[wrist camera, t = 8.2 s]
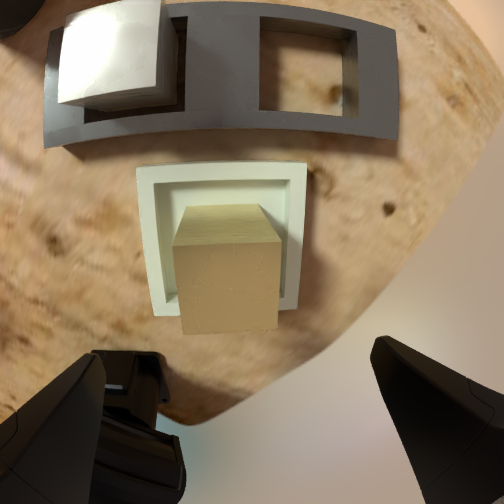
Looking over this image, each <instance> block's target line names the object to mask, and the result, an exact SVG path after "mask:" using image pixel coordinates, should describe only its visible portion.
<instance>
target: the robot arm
mask: <svg viewBox="0 0 504 504" xmlns="http://www.w3.org/2000/svg"><path fill="white" fill-rule="evenodd" d="M151 357H154V358H155V359H154V358H151ZM370 361H371V364H372V367H373V370H374V373H375V376H376V379H377V383H378V386H379V388H380V392H381V395H382V397H383V400H384V402H385V404H386V407H387V409H388V411H389V413H390V415H391V418H392V420H393V422H394V425H395V427H396V429H397V432H398V434H399V437H400V439H401V441H402V444H403V446H404V448H405V451H406V453H407V456H408V458H409V461H410V463H411V465H412V468H413V471H414V473H415V476H416V478H417V481H418V483H419V486H420V489H421V491H422V495H423V497H424V500H425V503H426V504H504V395H503V394H501V393H498V392H496V391H494V390H491V389H489V388H487V387H485V386H483V385H481V384H479V383H477V382H475V381H473V380H471V379H469V378H466V377H465V376H463V375H461V374H459V373H458V372H456V371H454V370H452V369H450V368H448V367H446V366H444V365H442V364H441V363H439V362H437V361H435V360H433V359H431V358H429V357H427V356H425V355H423V354H422V353H420V352H418V351H416V350H414V349H412V348H410V347H408V346H407V345H405V344H403V343H401V342H399V341H397V340H395V339H393V338H392V337H390V336H380V337H377V338H376V339H375V343H374V345H373V348H372V352H371V355H370ZM169 402H170V395H169V392H168V388H167V384H166V381H165V377H164V373H163V369H162V365H161V361H160V357H159V355H158V354H157V353H155V352H126V351H102V350H92V351H91V352H90V353H86V354H84V355H83V356H82V357H81V358H79V359H78V360H77V361H76V362H74V363H73V364H72V365H71V366H70V367H68V368H67V369H66V370H65V371H63V372H62V373H61V374H60V375H59V376H57V377H56V378H55V379H54V380H53V381H51V382H50V383H49V384H48V385H46V386H45V387H44V388H43V389H42V390H41V391H39V392H38V393H37V394H36V395H35V396H33V397H32V398H31V399H30V400H29V401H27V402H26V403H25V404H24V405H23V406H22V407H20V408H19V409H18V410H17V412H14V413H13V414H12V415H11V416H10V417H9V418H7V419H6V420H5V421H4V422H2V423H1V424H0V504H177V503H178V502H179V501H180V500H181V498H182V496H183V494H184V491H185V487H186V469H185V465H184V461H183V456H182V451H181V447H180V442H179V437H178V436H175V435H168V434H165V433H163V432H160V431H157V430H155V428H156V418H157V411H158V403H169Z"/></svg>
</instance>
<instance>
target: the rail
mask: <svg viewBox="0 0 504 504" xmlns="http://www.w3.org/2000/svg"><path fill="white" fill-rule="evenodd" d="M166 7H167V10H168V12H169V15H170V18H171V21H172V23H173V26H174V29H175V31H177V30H187V43H186V70H185V112H171V113H159V114H149V115H140V116H132V117H124V118H117V119H110V120H104V121H99V110H96V109H90V108H84V107H78V106H71V105H65V104H58V86H59V70H60V59H61V50H62V42H63V35H64V28H65V26H64V27H61V28H58V29H56V30H53V31H50V36H49V43H48V50H47V59H46V69H45V82H44V104H43V133H44V149H46V148H52V147H59V146H65V145H70V144H75V143H81V142H87V141H93V140H99V139H106V138H113V137H120V136H128V135H137V134H147V133H158V132H170V131H186V130H207V129H275V130H297V131H312V132H325V133H336V134H345V135H354V136H362V137H370V138H377V139H387V140H396V141H398V121H399V82H398V58H397V44H396V32H395V30H394V29H391V28H388V27H385V26H382V25H378V24H375V23H372V22H368V21H364V20H361V19H357V18H353V17H349V16H345V15H340V14H336V13H331V12H326V11H321V10H316V9H310V8H303V7H296V6H289V5H280V4H270V3H256V2H229V1H218V2H190V3H177V4H167V5H166ZM260 30H272V31H283V32H292V33H301V34H308V35H314V36H321V37H326V38H332V39H337V40H342V71H343V114H342V117H341V116H333V115H323V114H313V113H301V112H286V111H264V110H259V46H260Z"/></svg>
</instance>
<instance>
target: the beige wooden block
mask: <svg viewBox="0 0 504 504" xmlns="http://www.w3.org/2000/svg"><path fill="white" fill-rule="evenodd" d="M281 246H282V241H281V240H280V238H279V236H278V235H277V233H276V232H275V230H274V229H273V227H272V225H271V224H270V222H269V221H268V219H267V218H266V216H265V214H264V213H263V211H262V210H261V208H260V207H259V205H258V204H225V205H201V206H186V208H185V211H184V214H183V216H182V219H181V222H180V224H179V227H178V230H177V233H176V236H175V238H174V241H173V244H172V253H173V262H174V271H175V279H176V287H177V295H178V302H179V309H180V316H181V323H182V329H183V335H197V334H220V333H237V332H251V331H264V330H276V329H277V324H278V307H279V289H280V268H281Z"/></svg>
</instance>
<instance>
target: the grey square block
mask: <svg viewBox="0 0 504 504" xmlns="http://www.w3.org/2000/svg"><path fill="white" fill-rule="evenodd" d="M178 42H179V40H178V37H177V34H176V32H175V29H174V26H173V23H172V21H171V18H170V15H169V12H168V10H167V7H166V4H165V1H164V0H123V1H118V2H113V3H109V4H105V5H101V6H97V7H93V8H89V9H86V10H82V11H79V12H76V13H72V14H69V15H67V17H66V22H65V28H64V35H63V42H62V50H61V59H60V70H59V86H58V104H65V105H71V106H78V107H84V108H90V109H96V110H101V111H106V112H113V111H119V110H126V109H134V108H142V107H151V106H161V105H174V104H177V65H178Z"/></svg>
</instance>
